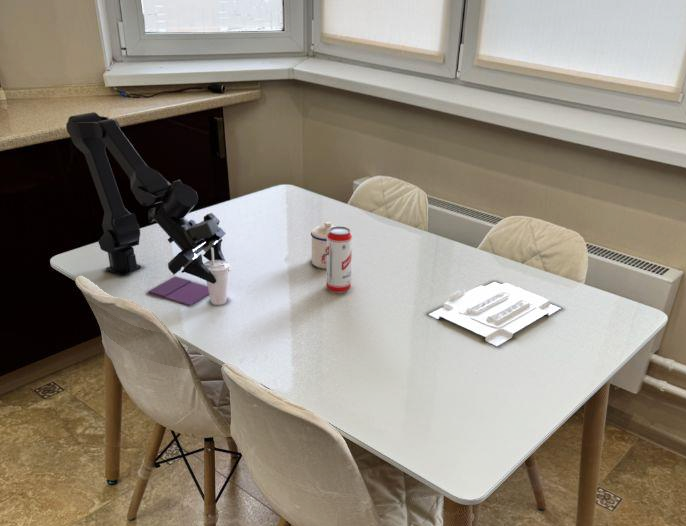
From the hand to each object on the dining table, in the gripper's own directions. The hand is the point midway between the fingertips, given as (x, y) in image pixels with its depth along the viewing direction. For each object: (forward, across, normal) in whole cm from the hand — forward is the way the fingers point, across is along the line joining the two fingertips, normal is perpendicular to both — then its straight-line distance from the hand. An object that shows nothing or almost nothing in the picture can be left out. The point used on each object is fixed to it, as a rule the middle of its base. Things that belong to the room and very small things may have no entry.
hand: (221, 277), depth 166 cm
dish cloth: (-4, +1, +14) cm, 14 cm away
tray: (+50, +21, -40) cm, 67 cm away
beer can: (+22, +18, -12) cm, 30 cm away
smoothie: (+4, 0, +6) cm, 7 cm away
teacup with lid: (+16, +33, -6) cm, 37 cm away
